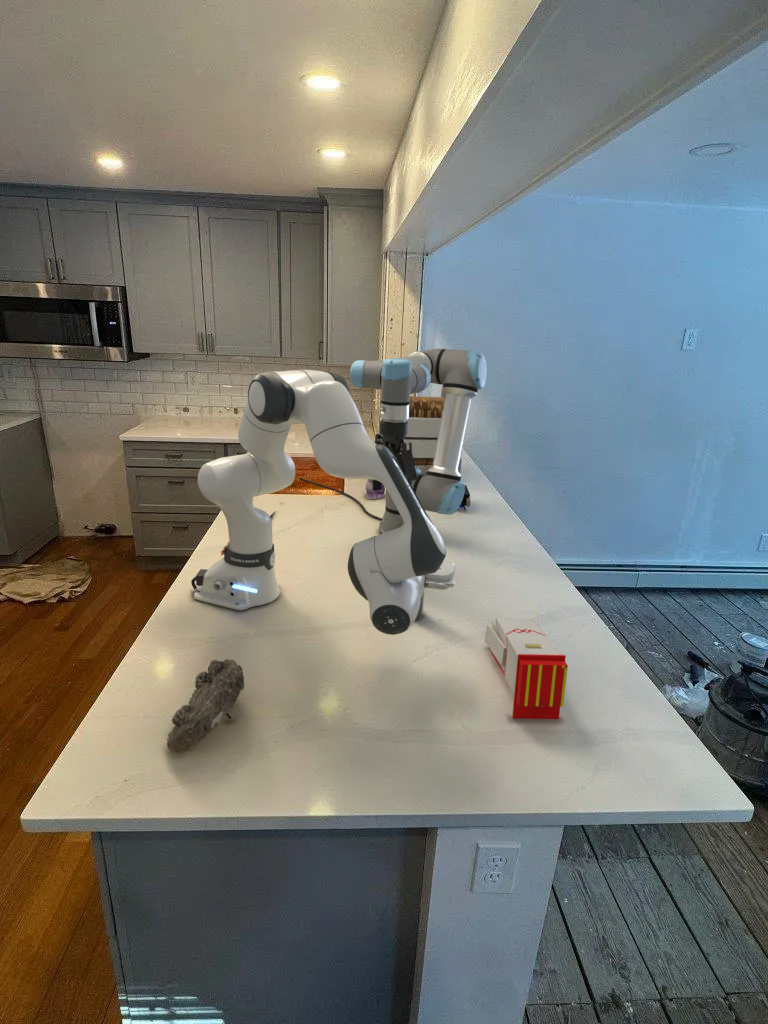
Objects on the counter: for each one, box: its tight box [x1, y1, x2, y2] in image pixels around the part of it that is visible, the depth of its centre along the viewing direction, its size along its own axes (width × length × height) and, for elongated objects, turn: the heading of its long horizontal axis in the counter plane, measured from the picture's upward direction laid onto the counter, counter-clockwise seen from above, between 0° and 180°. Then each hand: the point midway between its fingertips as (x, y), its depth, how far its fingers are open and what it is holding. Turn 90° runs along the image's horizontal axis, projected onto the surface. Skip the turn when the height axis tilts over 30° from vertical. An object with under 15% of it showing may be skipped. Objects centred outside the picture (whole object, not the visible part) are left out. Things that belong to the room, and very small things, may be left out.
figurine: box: [364, 479, 386, 500], centre depth 235 cm, size 9×10×15 cm
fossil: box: [166, 658, 245, 754], centre depth 106 cm, size 22×10×15 cm
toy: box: [484, 617, 569, 720], centre depth 122 cm, size 12×13×30 cm
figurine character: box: [457, 484, 471, 512], centre depth 229 cm, size 7×8×15 cm
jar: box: [415, 588, 426, 620], centre depth 145 cm, size 5×5×15 cm
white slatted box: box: [400, 386, 463, 475], centre depth 268 cm, size 34×33×41 cm
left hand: (412, 555), depth 129 cm, fingers open, 8 cm apart
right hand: (390, 496), depth 156 cm, fingers open, 13 cm apart
